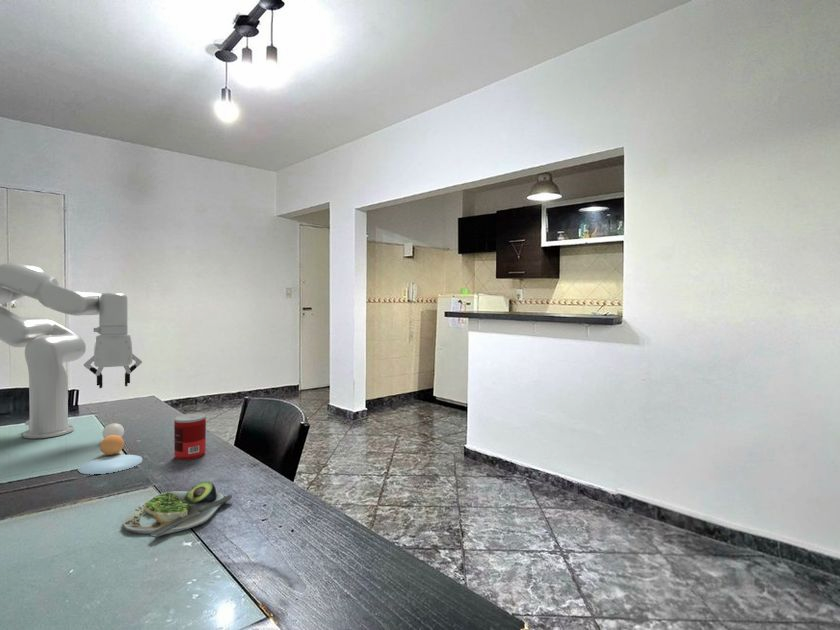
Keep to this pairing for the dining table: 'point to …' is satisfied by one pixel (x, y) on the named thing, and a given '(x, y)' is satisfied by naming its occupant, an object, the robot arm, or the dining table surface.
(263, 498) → the dining table surface
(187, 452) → the canned food
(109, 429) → the white egg
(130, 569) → the dining table surface
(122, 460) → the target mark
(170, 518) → the avocado toast plate
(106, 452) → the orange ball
